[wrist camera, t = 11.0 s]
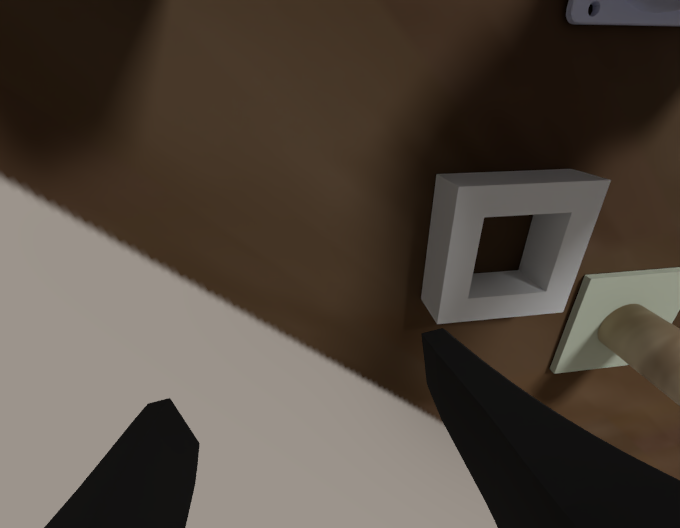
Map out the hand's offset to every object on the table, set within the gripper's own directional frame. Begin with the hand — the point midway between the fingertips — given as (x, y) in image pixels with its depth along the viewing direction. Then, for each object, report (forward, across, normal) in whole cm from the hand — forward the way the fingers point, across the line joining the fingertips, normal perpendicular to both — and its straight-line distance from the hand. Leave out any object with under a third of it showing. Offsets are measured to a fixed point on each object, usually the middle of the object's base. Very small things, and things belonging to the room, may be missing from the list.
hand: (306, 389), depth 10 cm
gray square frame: (+9, -11, +2) cm, 14 cm away
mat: (+9, -20, +11) cm, 25 cm away
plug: (+9, -20, +11) cm, 25 cm away
